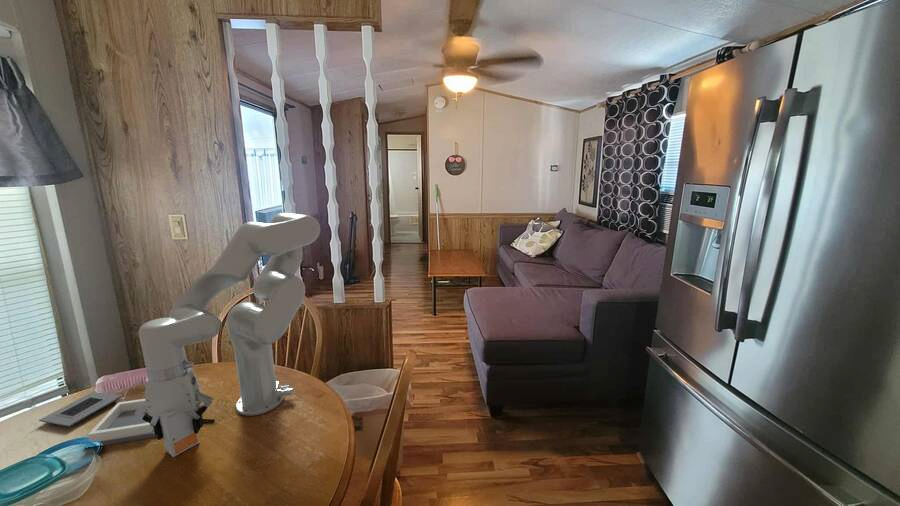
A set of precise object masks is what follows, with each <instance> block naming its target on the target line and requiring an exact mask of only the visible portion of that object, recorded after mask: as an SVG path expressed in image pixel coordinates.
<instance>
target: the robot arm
mask: <svg viewBox="0 0 900 506" xmlns="http://www.w3.org/2000/svg"><path fill="white" fill-rule="evenodd" d="M320 234H321V225H320V223H319V221H318V220H317V219H316V218H315V217H313V216H312V215H308V214H300V213H292V212H282V213H281V212H280V213H277V214H276V215H275V216H273V218H272V219H271V222H270V223H267V222H262V221H261V222H259V221H247V222H244V223H243V224H242V225H240V226H239V227H238V229H237V230H236V232H235V233H234V235H233V236H232V238H231V239H230V241H229V242H228V244H227V245H226V246H225V248H224V250H223V251H222V252H221V254H220V255H219V257H218V258H217V260H216V261H215V262H214V264H213V265H212V267H210V268H209V269H208V270H205V272H204V273H202V274H201V275H199V276H198V277H197V278H196V279H194V281H192V282H191V283H190V284H188V286H187V287H186V288H185V289H184V290H183V292H182V293H181V295H179V297H178V298H177V300H176V302H175V303H174V304H173V306H172V307H171V310H170V312H169V313H168V317H160V318H155V319H152V320H149V321H146V322H145V323H143V324H142V325H141V326H140V327H139V330H138V336H139V341H140V346H141V350H142V355H143V361H144V365H145V369H146V370H145V371H146V374H147V377H146V379H145V383H144V385H145V387H144V399H145V401H146V402H145V403H144V404H143V405H142V406H140V407H139V408H138V409H137V410H136V412H135V415H137V416H139V417H140V418H142V419H143V420H144V421H146V422H148V423H150V426H153V428H154V432H155V435H157V437H156V439H157V440H158V441H160V440H162V439H164V438H163V433H162V428H161V423H160V418H159V417H160V416H162V413H165V412H172V411H175V412H176V413H184V412H188V413H189V414H190V415H191V416H192V417H193V420H192V425H193V430H194V433H195V434H196V433H198V434H199V432H200V430H201V428H203V427H204V420H203V414H205V412H206V411H207V410H208V409H209V407H210V406H211V404H212V403H213V401H214V398H213V397H212V396H210V395H207V394H205V393H202V390H201V387H200V383H199V381H198V378H197V375H196V374H195V371H194V370H193V368H194V365H195V363H194V361H188V357H186V352H185V351H186V350H185V346H189V345H194V344H199V343H203V342H206V341H210V340H212V339H213V338H215V337H216V336H217V335H218V334H219V333H220V332H221V329H222V325H223V324H222V320H221V318H220V317H219V316H218V315H217V314H216V313H214V312H211V311H209V310H206V309H207V307H208V306H209V304H210V303H211V302H212V301H213V299H214V298H216V296H218V295H219V294H220V293H222V292H224V291H225V290H227V289H231V288H233V287H236V286H239V285H241V284H242V283H243V284H244V283H245V282H246V281H247V280H248V278H249V276H250V275H251V274H252V272H253V270H254V268H255V267H256V265H257V264H258V262H259V260H260V259H261V257H262V255H265V256H270V257H269V259H268V261H267V263H266V264H265V265H264V267H263V268H262V270H261V271H260V274H259V275H258V276H257V278H256V280H254V283H253V286H252V293H253V294H254V296H255V297H256V298H258V299H259V301H263V302H266V304H265V305H262V304H259V303H256V302H252V301H251V302H250V301H245V302H244V301H243V302H241V303H237V304H235V305H234V306H233V307H232V308H231V309H230V311H228V314H227V316H226V328H227V331H228V334H229V337H230V340H231V344H232V347H233V352H234V358H235V366H236V372H237V379H238V385H239V386H238V387H239V393H240V398H239V399H238V401H237V402H236V404H235V408H236V411H237V413H238V414H240V415H243V416H246V417H251V416H252V417H253V416H258V415H259V416H260V415H263V414H266V413H268V412H270V411H272V410H274V409H275V408H277V407H278V406H279V405H280V404H281V403H282V401H283V400H284V396H292V395H294V393H293V391H294V390H293V389H294V388H293V387H290V384H287V385H285V384H284V385H281V384H280V381H279V380H278V381H277V379H276V372H275V371H276V370H275V362H274V355H273V353H274V352H273V345H272V344H274V343H275V342H277V341H279V340H280V339H281V338H282V336H283V335H284V334H285V333H286V331H287V330H288V328H289V326H290V324H291V323H292V321H293V320H294V318H295V316H296V314H297V313H298V310H299V309H300V308H301V305H302V303H303V301H304V300H305V295H306V285H305V283H304V281H303V279H302V278H301V277H299V276H297V275H296V274H297V272H298V271H299V268H300V266H301V264H302V261H303V255H304V254H303V253H304V252H303V247H305V246H308V245H311V244H313V243H314V242H315V241H316V240H318V238H319V237H320ZM198 401H201V402H200V403H202V405H200V403H199V404H198V403H197V402H198ZM146 409H147V411H146Z"/></svg>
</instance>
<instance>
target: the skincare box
mask: <svg viewBox="0 0 900 506" xmlns="http://www.w3.org/2000/svg"><path fill="white" fill-rule="evenodd" d="M159 418H160V423H161V428H162V433H163V438H162V439H163V442H164V447H165V451H166V452H167V453H168V454H169V455H170V456H171V457H172V458H175V457H176V456H178V455H180V454H181V453H183V452H185V451H187V450H188V449H191V448H193V447H194V446H196V445H198V444H200V438H199V437H200V436H199V432H198V433H196V434H195V433H194V430H193V425H192V420H193V417H192V416H191V415H190V414H189V413H188V412H184V413H176V412H175V411H172V412H165V413H162V416H160V417H159Z"/></svg>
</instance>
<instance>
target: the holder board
mask: <svg viewBox="0 0 900 506" xmlns="http://www.w3.org/2000/svg"><path fill="white" fill-rule="evenodd" d="M145 402H146V401H145V398H141V399H134V400H128V401H127V400H125V401H120V402H119V401H118V402H117V403H116V404H115V405H114V406H113V407H112V408H111V409H110V410H109V412H107V414H106V415H105V416H104V417H103V418H102V419H101V420H100V421H99V422H98V423H97V424H96V425H95V427H93V428H92V430H90V431H89V433H88V434H87V436H88V440H89V441H90V442H95V441H100V442H101V443H102V444H103V446H109V445H115V444H119V443H120V444H121V443H126V442H127V443H128V442H133V441H137V440H138V441H139V440H145V439H150V438H157V435H155V432H154V428H153V426H150V423H148V422H146V421H144V420H143V419H142V418H140V417H139V416H137V415H135V412H136V410H137V409H138V408H139V407H140V406H142V405H143V404H144V403H145ZM197 403H198V404H199V405H200V403H202V402H201V401H198V402H197ZM146 411H147V409H146Z"/></svg>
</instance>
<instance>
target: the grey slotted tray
mask: <svg viewBox="0 0 900 506" xmlns="http://www.w3.org/2000/svg"><path fill="white" fill-rule="evenodd" d="M97 392H98V391H97V390H96V391H92V392H90V393H88V394H86V395H84V396H82V397H80V398H78V399H76V400H74V401H72V402H70V403H69V404H67V405H65V406H62V407H61V408H59V409H57V410H56V411H53V412H52V413H50V414H48V415H46V416H43V417H42V418H40V419H38V421H39V422H42V423H48V424H52V425H59V426H63V427H69V428H70V427H73V426H75V425H77V424H78V423H80V422H82V421H83V420H85V419H86V418H88V417H91V416H92V415H94V414H96V413H98V412H99V411H101V410H103V409H104V408H106V407H108V406H110V405H111V404H113V403H115V402H117V401H118V400H121V398H122V396H123V395H120V394H114V393H108V392H102V393H97Z"/></svg>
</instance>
